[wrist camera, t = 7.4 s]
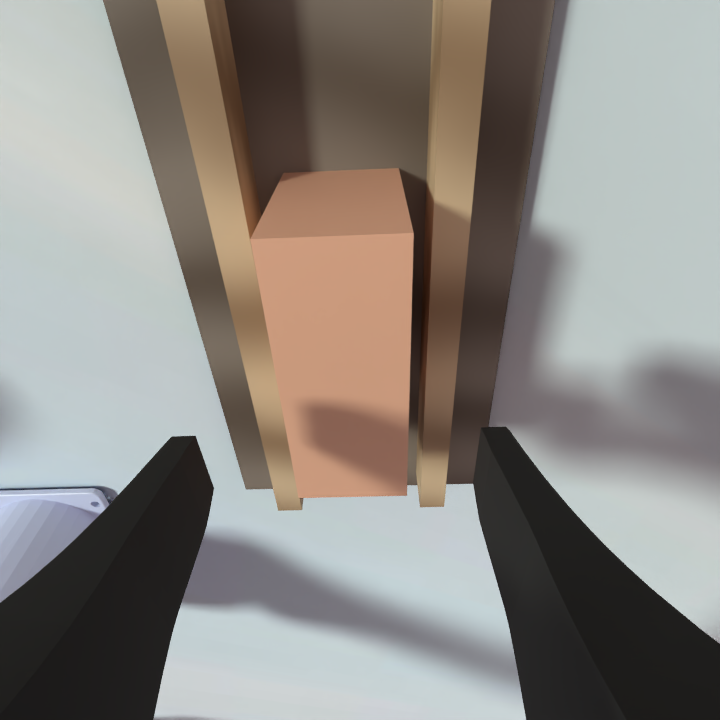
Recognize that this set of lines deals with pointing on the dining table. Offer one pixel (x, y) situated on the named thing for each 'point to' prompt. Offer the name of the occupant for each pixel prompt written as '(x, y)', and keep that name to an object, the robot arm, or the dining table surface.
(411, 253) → the block
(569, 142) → the dining table surface
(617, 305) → the dining table surface
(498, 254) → the wooden stand
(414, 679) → the dining table surface
